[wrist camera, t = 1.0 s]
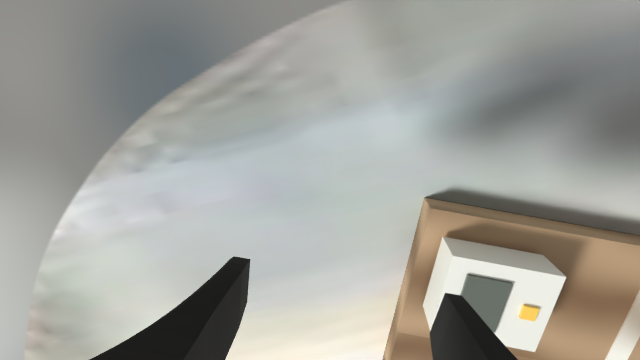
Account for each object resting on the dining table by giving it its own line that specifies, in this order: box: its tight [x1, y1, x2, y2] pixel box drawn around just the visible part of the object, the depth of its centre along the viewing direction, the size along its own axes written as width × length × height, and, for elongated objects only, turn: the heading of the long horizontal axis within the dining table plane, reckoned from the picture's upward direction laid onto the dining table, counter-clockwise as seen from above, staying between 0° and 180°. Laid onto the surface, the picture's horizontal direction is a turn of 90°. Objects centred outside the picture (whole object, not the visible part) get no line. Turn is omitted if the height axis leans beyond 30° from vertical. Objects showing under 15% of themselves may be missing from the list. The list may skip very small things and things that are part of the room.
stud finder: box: [423, 236, 566, 352], centre depth 20 cm, size 5×6×3 cm
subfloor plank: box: [383, 198, 640, 360], centre depth 23 cm, size 14×22×2 cm, turn 81°
